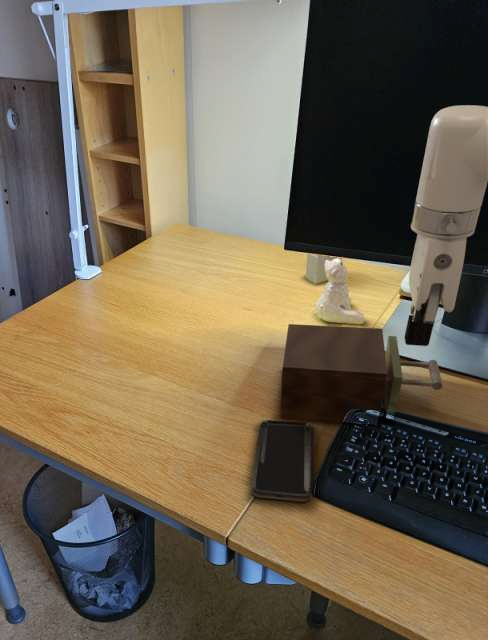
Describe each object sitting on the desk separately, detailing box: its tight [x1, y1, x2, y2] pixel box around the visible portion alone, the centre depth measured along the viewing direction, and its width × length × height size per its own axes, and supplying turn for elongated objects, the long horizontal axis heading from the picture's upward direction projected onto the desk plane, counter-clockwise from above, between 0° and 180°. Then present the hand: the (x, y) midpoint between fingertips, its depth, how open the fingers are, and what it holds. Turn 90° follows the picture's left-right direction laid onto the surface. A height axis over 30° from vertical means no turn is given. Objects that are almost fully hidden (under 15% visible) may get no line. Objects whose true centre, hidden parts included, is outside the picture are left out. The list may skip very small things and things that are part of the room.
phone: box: [251, 419, 314, 503], centre depth 79 cm, size 8×1×15 cm
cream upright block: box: [305, 253, 343, 285], centre depth 122 cm, size 4×7×10 cm, turn 118°
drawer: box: [383, 335, 444, 413], centre depth 86 cm, size 20×11×8 cm, turn 78°
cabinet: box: [279, 323, 388, 424], centre depth 87 cm, size 15×13×10 cm
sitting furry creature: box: [314, 258, 365, 325], centre depth 107 cm, size 10×9×12 cm
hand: (416, 342), depth 81 cm, fingers closed
